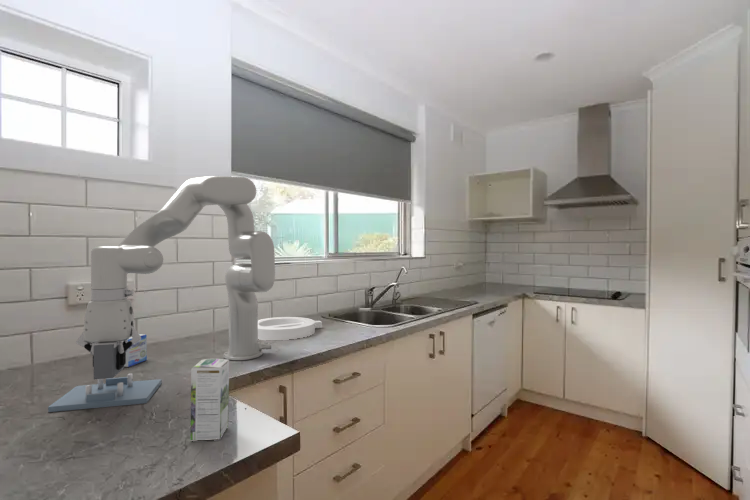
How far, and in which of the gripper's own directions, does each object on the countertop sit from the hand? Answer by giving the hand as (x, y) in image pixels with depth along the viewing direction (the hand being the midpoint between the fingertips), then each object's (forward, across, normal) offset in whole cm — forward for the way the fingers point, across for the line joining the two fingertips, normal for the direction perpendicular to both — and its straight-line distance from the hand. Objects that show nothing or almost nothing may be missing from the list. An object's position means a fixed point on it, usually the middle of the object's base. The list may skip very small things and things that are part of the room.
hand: (109, 368), depth 99 cm
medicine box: (+7, +4, -30) cm, 31 cm away
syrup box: (+7, -27, +28) cm, 40 cm away
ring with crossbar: (+7, -44, -63) cm, 77 cm away
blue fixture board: (+7, 0, 0) cm, 7 cm away
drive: (+1, 0, 0) cm, 1 cm away
